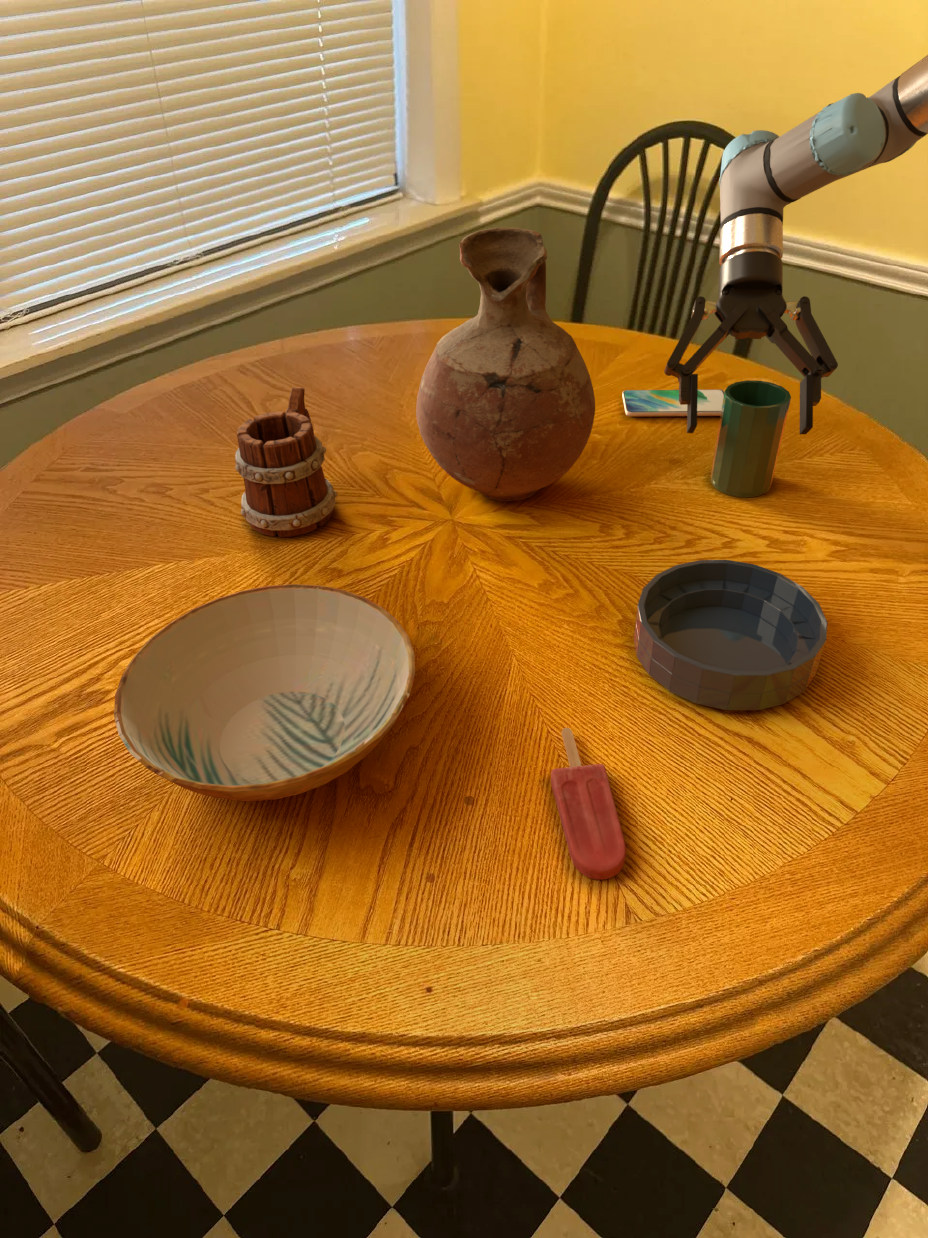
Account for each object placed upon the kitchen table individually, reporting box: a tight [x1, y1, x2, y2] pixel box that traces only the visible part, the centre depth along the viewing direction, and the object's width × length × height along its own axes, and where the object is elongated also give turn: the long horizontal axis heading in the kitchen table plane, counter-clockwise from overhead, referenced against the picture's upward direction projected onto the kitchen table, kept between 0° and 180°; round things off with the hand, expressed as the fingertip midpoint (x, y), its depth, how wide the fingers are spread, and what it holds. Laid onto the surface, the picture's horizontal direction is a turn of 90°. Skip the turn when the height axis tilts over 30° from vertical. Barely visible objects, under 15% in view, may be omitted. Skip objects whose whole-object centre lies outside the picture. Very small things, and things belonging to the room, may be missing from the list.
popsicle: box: [550, 727, 627, 880], centre depth 71 cm, size 4×2×15 cm
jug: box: [415, 226, 596, 502], centre depth 102 cm, size 22×22×30 cm
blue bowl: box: [633, 559, 828, 711], centre depth 83 cm, size 17×17×5 cm
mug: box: [234, 387, 338, 538], centre depth 104 cm, size 12×14×15 cm
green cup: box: [710, 379, 792, 498], centre depth 105 cm, size 7×7×12 cm
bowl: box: [113, 583, 416, 802], centre depth 75 cm, size 25×25×8 cm
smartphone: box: [621, 388, 725, 417], centre depth 125 cm, size 7×1×15 cm
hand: (748, 430), depth 105 cm, fingers open, 13 cm apart
